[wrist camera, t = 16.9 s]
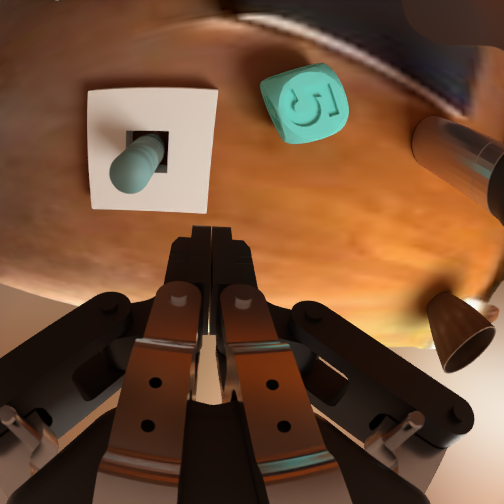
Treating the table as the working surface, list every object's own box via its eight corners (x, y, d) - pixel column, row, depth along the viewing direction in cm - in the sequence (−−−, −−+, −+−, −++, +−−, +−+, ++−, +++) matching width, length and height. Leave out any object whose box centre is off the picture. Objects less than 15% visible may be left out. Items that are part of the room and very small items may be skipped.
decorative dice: (331, 117, 37) (356, 128, 30) (277, 136, 38) (291, 150, 31) (312, 63, 32) (335, 61, 26) (255, 81, 33) (265, 82, 27)
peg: (169, 130, 36) (150, 152, 26) (167, 161, 38) (150, 195, 28) (137, 129, 35) (108, 152, 25) (137, 160, 37) (109, 194, 27)
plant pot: (446, 321, 67) (474, 364, 53) (405, 329, 65) (433, 380, 52) (469, 277, 58) (505, 321, 45) (427, 282, 57) (465, 334, 43)
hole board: (218, 89, 33) (218, 90, 30) (207, 202, 42) (206, 213, 39) (98, 89, 31) (87, 91, 28) (100, 198, 39) (92, 208, 36)
